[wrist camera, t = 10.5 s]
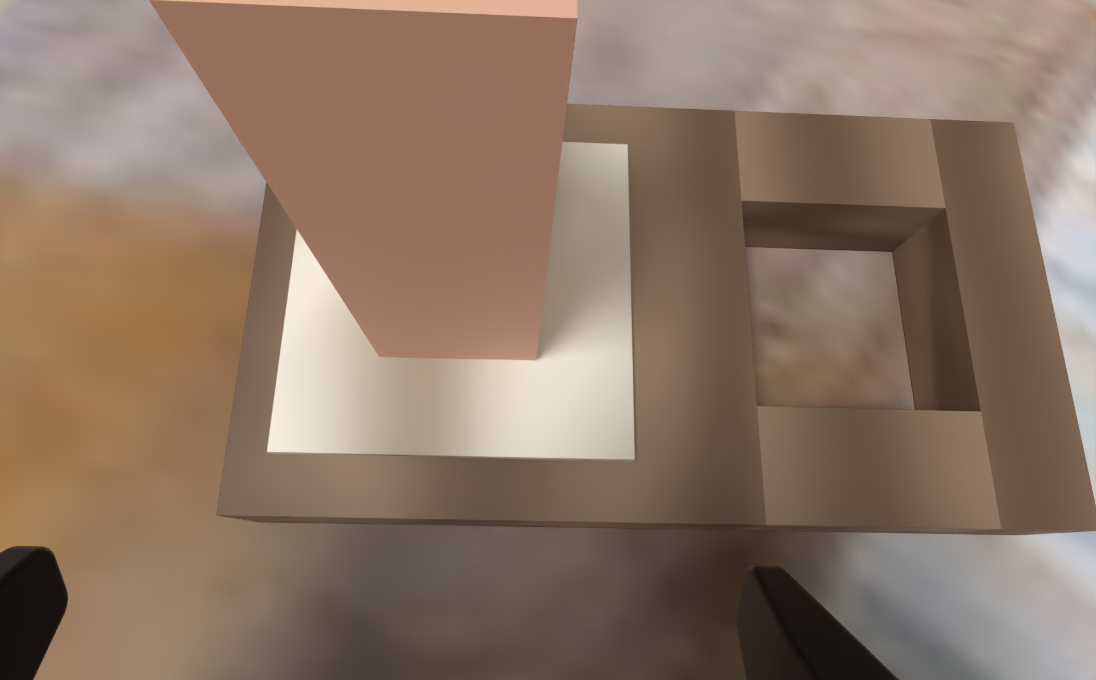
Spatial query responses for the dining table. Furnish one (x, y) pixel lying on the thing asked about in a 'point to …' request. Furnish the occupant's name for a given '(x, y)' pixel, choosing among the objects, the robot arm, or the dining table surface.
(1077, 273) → the dining table surface
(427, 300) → the terracotta peg
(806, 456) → the walnut pocket board
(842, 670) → the robot arm
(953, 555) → the dining table surface
